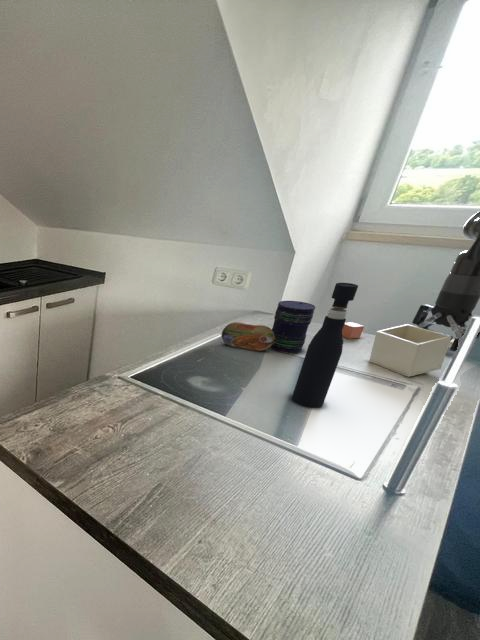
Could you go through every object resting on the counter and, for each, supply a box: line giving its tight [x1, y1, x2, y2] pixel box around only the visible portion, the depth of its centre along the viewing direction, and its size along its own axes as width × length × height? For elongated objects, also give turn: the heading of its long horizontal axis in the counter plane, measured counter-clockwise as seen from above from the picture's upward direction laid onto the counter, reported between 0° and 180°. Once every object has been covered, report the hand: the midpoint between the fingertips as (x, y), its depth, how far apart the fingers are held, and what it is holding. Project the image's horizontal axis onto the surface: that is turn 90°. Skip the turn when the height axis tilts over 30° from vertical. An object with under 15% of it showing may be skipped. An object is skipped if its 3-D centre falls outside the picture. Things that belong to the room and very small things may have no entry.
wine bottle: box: [291, 282, 359, 409], centre depth 92 cm, size 6×6×30 cm
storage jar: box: [269, 300, 316, 354], centre depth 127 cm, size 10×10×15 cm
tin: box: [221, 321, 275, 352], centre depth 129 cm, size 15×3×8 cm, turn 55°
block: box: [342, 321, 365, 340], centre depth 137 cm, size 4×4×4 cm
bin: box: [368, 323, 454, 378], centre depth 112 cm, size 14×11×10 cm
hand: (436, 345), depth 112 cm, fingers open, 8 cm apart
